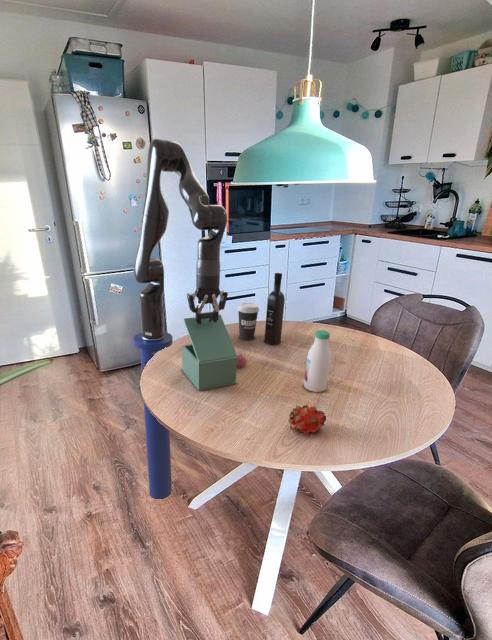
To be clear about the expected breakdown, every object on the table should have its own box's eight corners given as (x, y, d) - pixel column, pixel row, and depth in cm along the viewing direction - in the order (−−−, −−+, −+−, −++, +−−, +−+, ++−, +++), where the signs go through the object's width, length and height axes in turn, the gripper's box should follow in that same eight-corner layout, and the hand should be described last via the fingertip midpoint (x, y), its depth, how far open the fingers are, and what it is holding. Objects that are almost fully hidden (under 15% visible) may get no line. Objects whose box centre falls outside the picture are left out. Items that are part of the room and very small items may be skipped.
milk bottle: (330, 387, 133) (339, 332, 124) (319, 395, 127) (327, 338, 119) (310, 379, 137) (318, 326, 129) (299, 387, 132) (305, 332, 124)
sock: (229, 360, 150) (230, 351, 148) (238, 359, 151) (239, 349, 150) (238, 369, 143) (239, 359, 142) (248, 367, 145) (249, 357, 143)
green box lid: (183, 319, 131) (186, 310, 127) (219, 315, 136) (223, 306, 132) (198, 363, 124) (202, 354, 119) (236, 357, 129) (241, 348, 125)
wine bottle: (272, 345, 165) (279, 275, 153) (263, 341, 169) (268, 273, 157) (281, 342, 169) (288, 273, 157) (271, 338, 173) (277, 271, 160)
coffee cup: (233, 339, 170) (234, 306, 164) (239, 332, 179) (240, 301, 172) (254, 342, 168) (256, 309, 162) (259, 335, 176) (261, 303, 170)
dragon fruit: (282, 436, 108) (319, 435, 112) (298, 435, 100) (336, 434, 104) (280, 406, 110) (316, 406, 114) (295, 403, 102) (333, 403, 106)
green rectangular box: (182, 370, 141) (181, 345, 137) (216, 364, 146) (216, 340, 142) (198, 390, 127) (198, 363, 123) (235, 383, 133) (236, 357, 129)
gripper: (223, 268, 129) (221, 316, 136) (182, 270, 123) (182, 321, 130) (233, 273, 123) (230, 324, 130) (191, 276, 117) (190, 329, 124)
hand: (206, 322), depth 130 cm, fingers closed on green box lid, 5 cm apart
